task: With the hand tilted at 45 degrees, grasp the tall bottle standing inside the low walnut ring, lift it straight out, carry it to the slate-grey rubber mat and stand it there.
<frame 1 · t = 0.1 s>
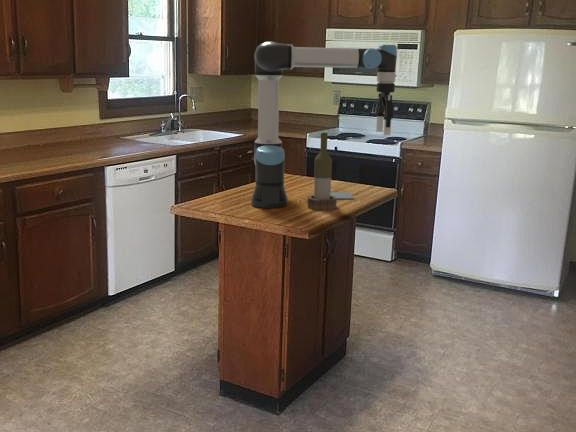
hand: (383, 133, 274), 28 cm above the worktop, tool pointing down, fingers open, 13 cm apart
bottle: (321, 207, 261), resting in ring stand
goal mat: (338, 196, 281), on the worktop
ring stand: (321, 207, 261), on the worktop
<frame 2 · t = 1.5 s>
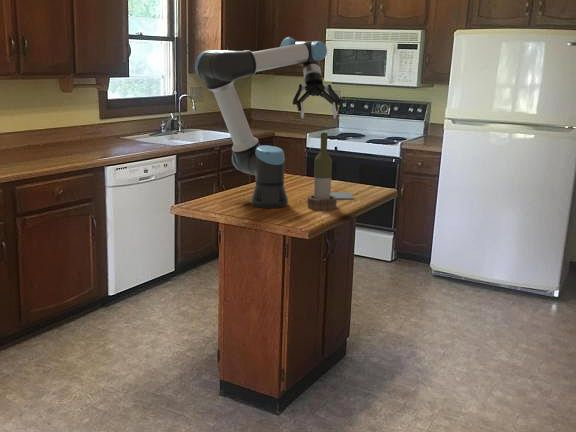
hand: (319, 116, 262), 35 cm above the worktop, tool tilted 45°, fingers open, 13 cm apart
nothing on the worktop moved.
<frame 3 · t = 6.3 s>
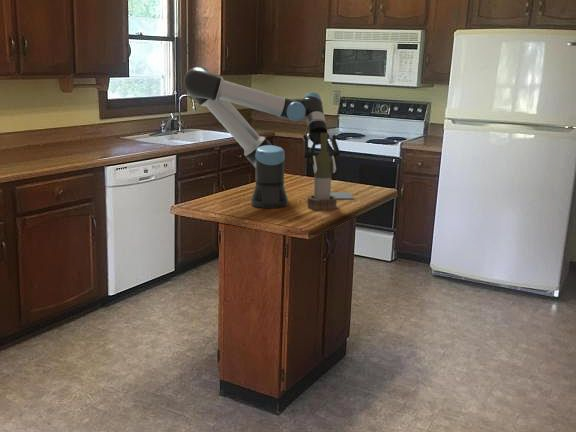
hand: (325, 171, 254), 15 cm above the worktop, tool tilted 45°, fingers closed on bottle, 7 cm apart
bottle: (321, 207, 261), resting in ring stand, touching gripper
when the fingers open (17 cm above the worktop, at t = 12.0 s): bottle stays where it is, resting on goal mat.
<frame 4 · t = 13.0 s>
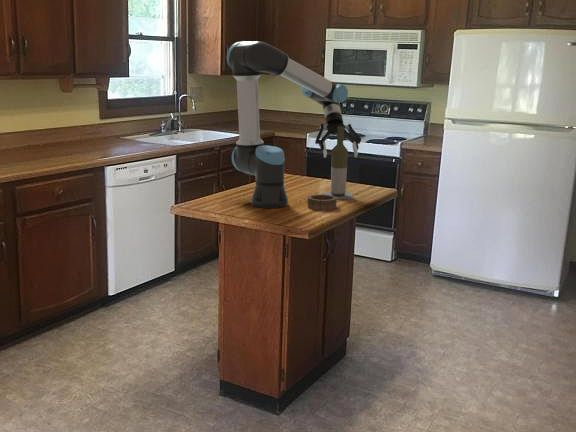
hand: (341, 155, 274), 18 cm above the worktop, tool tilted 45°, fingers open, 13 cm apart
bottle: (338, 195, 281), resting on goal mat
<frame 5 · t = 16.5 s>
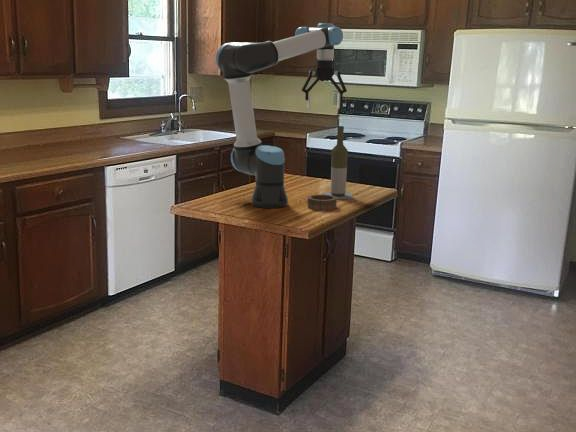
hand: (323, 108, 290), 37 cm above the worktop, tool pointing down, fingers open, 13 cm apart
nothing on the worktop moved.
at the end: bottle 0.1 cm from the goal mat (horizontally); bottle tilted 0°; the gripper is holding nothing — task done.
